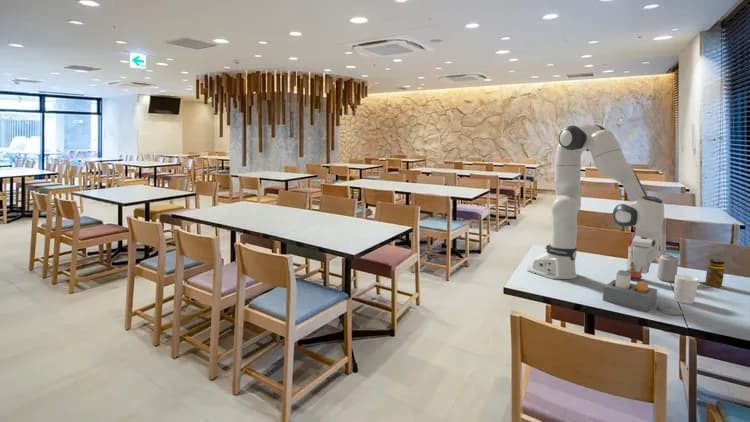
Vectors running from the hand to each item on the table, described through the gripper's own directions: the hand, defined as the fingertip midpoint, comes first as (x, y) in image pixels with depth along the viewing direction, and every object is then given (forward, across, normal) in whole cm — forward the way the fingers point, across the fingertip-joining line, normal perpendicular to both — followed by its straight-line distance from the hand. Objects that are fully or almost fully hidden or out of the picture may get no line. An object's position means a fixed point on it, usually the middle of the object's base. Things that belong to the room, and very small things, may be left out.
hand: (645, 272), depth 172 cm
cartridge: (+13, 0, -8) cm, 15 cm away
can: (+14, -44, -2) cm, 46 cm away
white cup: (+14, -18, +10) cm, 25 cm away
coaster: (+14, -1, +9) cm, 17 cm away
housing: (+13, 0, -5) cm, 14 cm away
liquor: (+14, -34, -13) cm, 39 cm away
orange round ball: (+9, 0, -1) cm, 9 cm away
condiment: (+14, -50, +14) cm, 54 cm away
